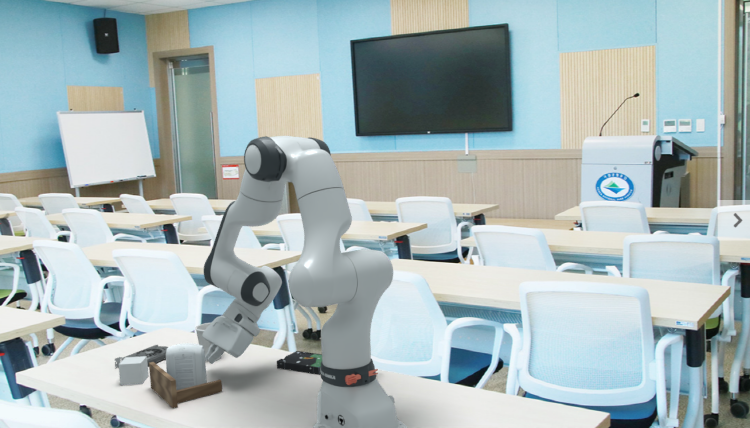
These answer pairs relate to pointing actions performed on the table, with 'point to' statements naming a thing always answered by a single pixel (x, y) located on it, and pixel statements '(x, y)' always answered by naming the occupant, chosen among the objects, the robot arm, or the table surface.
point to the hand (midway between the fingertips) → (207, 361)
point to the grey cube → (133, 370)
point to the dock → (168, 392)
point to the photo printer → (186, 364)
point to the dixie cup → (201, 340)
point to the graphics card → (148, 354)
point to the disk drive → (301, 362)
